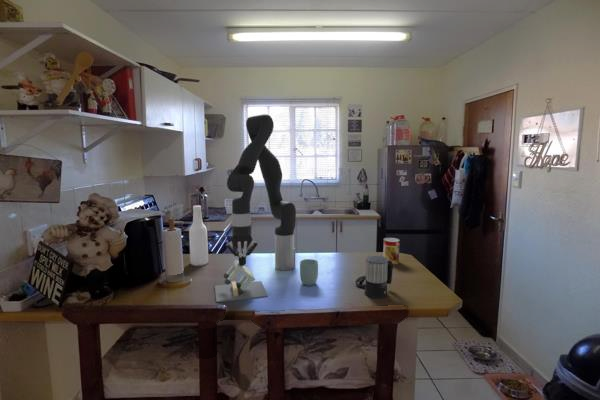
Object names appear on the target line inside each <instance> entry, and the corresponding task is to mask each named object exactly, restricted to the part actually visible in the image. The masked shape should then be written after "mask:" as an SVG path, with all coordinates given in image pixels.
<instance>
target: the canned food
mask: <svg viewBox="0 0 600 400" xmlns="http://www.w3.org/2000/svg"><path fill="white" fill-rule="evenodd" d="M382 249H383V250H382V251H383V256H382V257H385V258H387V259H388V260H390V261H391V262H392V263H393V265H398V264H399V262H400V260H399V259H400V239H399V238H395V237H384V238H383V248H382Z"/></svg>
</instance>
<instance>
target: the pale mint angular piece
mask: <svg viewBox="0 0 600 400" xmlns="http://www.w3.org/2000/svg"><path fill="white" fill-rule="evenodd" d="M227 270H228V271H226V272H225V273H224V274H223V278H224V279H225V280H224V283H225V284H224V285H228V284H232V281H233V280H234V278H235V277H236V276H237V275H238V274H239V273H240V274H242V275H243V276H242V277H241V278H240V280H239V281H237V282H236V286H237V287H238V288H239V289H238V293H239V294H242V293H243V291H244V289H245V288H246V287H247V286H248V285H249V284H250V282H255V281H256V277H255V275H254V272H253V271H252V270H250V268H248V267H247V266H246V265H244V266H241V265H240V264H239V259H238V260H237V259H235V260H234V261H233V265H232V266H231V267H230V268H229V269H227ZM243 283H244V284H243ZM242 284H243V285H242ZM241 285H242V286H241Z"/></svg>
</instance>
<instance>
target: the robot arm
mask: <svg viewBox="0 0 600 400" xmlns="http://www.w3.org/2000/svg"><path fill="white" fill-rule="evenodd" d="M245 127H246V131H247V134H248V137H249V140H250V142H249V144H248V145H247V146H246V147H245V148H244V149H243V151H242V153H241V156H240V158H239V161H238V164H237V165H236V166H235V167H234V168H233V170H232V171H231V173H230V174H229V175H228V177H227V180H226V186H227V189H228V190H229V191H230V192H233V193H235V192H237V193H242V194H241V197H235V198H233V199H232V201H231V209H232V210H231V212H232V214H231V234H232V235H231V236H232V237H231V239H230V242H228V243H226V244H225V245H226V248H227V249H228V250H229V251H230V252H231V254H232V255H233V256H234V257H237V258H238V261H239V264H240V265H241V266H245V265H246V264H247V257H248V256H250V255H251V254H252V253H253V252H254V250H255V249H256V248H257V247H258V243H257V241H255V240H253V237H252V218H251V217H252V216H251V201H252V200H251V199H252V195H253V191H254V187H255V179H254V178H253V177H254V176H252V174H253V173H254V171H255V170H256V167H257V163H258V165H259V169H260V173H261V175H262V178H263V182H264V185H265V189H266V192H267V197H268V203H269V207H270V212H271V215H272V216H273V218H274V219H276V220H280V225H279V226H276V227H275V229H274V262H275V263H274V266H275V269H276V270H279V271H290V270H293V269H294V268H296V248H295V247H294V246H295V244H294V243H295V241H294V240H295V239H294V238H295V237H294V235H295V234H294V232H295V231H294V230H295V229H296V219H297V208H296V206H295V204H294V203H293V202H291V201H285V200H284V199H283V197H282V193H281V185H282V181H283V172H282V168H281V163H280V161H279V159H278V158H277V157H276V155H275V154H274V153H273V152H272V151H270V150H269V147H267V145H266V144H267V142H268V140H269V139H270V137H271V136H272V134H273V131H274V129H275V128H274V121H273V118H272V117H271V115H269V114H266V113H265V114H258V115H252V116H248V117H247V119H246V123H245ZM249 246H250V247H249ZM233 247H235V248H236V249H237V251H236V250H235V249H234V248H233Z"/></svg>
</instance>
